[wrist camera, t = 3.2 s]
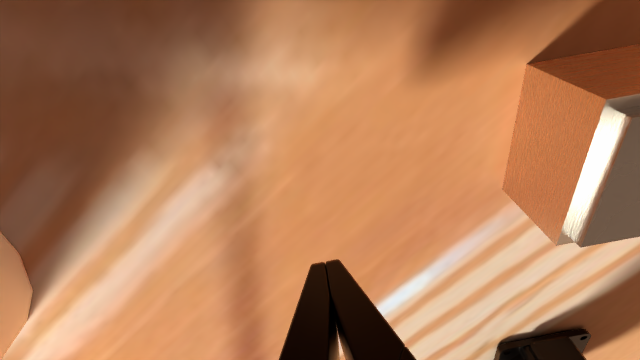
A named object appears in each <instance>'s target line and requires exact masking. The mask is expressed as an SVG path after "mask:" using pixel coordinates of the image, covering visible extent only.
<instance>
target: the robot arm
mask: <svg viewBox="0 0 640 360" xmlns="http://www.w3.org/2000/svg"><path fill="white" fill-rule="evenodd" d="M336 325H337V326H336ZM337 330H338V332H337ZM338 335H339V339H340V343H341V346H342V349H343V353H344V356H345V359H346V360H416V359H415V357H414V356H413V355H412V353H411V352H410V351H409V349H408V348H407V347H405V345H404V343H403V342H402V341H401V339H400V338H399V337H398V335H397V334H396V333H395V332H394V330H393V329H392V328H391V326H390V325H389V324H388V322H387V321H386V320H385V319H384V317H383V316H382V315H381V313H380V312H379V311H378V309H377V308H376V307H375V306H374V304H373V303H372V302H371V300H370V299H369V298H368V296H367V295H366V294H365V293H364V291H363V290H362V289H361V287H360V286H359V285H358V283H357V282H356V281H355V280H354V278H353V277H352V276H351V274H350V273H349V272H348V270H347V269H346V268H345V267H344V265H343V264H342V263H341V261H340V260H338V259H336V260H331V261H327V262H326V265H325V263H324V262H320V263H315V264H312V265H311V267H310V269H309V272H308V275H307V278H306V281H305V284H304V287H303V290H302V293H301V296H300V299H299V302H298V305H297V308H296V310H295V313H294V316H293V319H292V322H291V325H290V328H289V331H288V334H287V337H286V340H285V343H284V346H283V349H282V352H281V355H280V357H279V360H340V359H339V342H338ZM590 337H591V335H590V334H589V332H588V331H587V330H586V329H578V330H573V331H567V332H562V333H557V334H552V335H546V336H541V337H536V338H531V339H525V340H520V341H515V342H510V343H505V344H502V345H500V346H499V347H498V348H497V351H496V354H495V358H494V360H586V358H585V357H584V356H583V354H582V352H583V350H584V348H585V346H586V345H587V343H588V341H589V339H590Z"/></svg>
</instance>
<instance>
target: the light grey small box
mask: <svg viewBox="0 0 640 360" xmlns="http://www.w3.org/2000/svg"><path fill="white" fill-rule="evenodd" d="M502 190H503V191H504V192H505V193H506V194H507V195H508V196H509V197H510V198H511V199H512V200H513V201H514V202H515V203H516V204H517V205H518V206H519V207H520V208H521V209H522V210H523V211H524V212H525V214H526V215H527V216H528V217H529V218H530V219H531V220H532V221H533V222H534V223H535V224H536V225H537V226H538V227H539V228H540V229H541V230H542V231H543V232H544V233H545V234H546V235H547V236H548V237H549V238H550V240H551V241H552V242H553V243H554V244H555V245H556V246H557V245H562V244H567V243H573V242H575V243H577V244H578V245H579V246H580V247H585V246H591V245H596V244H601V243H607V242H612V241H618V240H623V239H628V238H634V237H639V236H640V44H636V45H631V46H625V47H620V48H614V49H608V50H603V51H597V52H592V53H586V54H580V55H575V56H569V57H564V58H558V59H552V60H547V61H541V62H536V63H530V64H526V69H525V75H524V80H523V85H522V90H521V95H520V100H519V106H518V111H517V116H516V121H515V126H514V131H513V137H512V142H511V147H510V152H509V157H508V162H507V168H506V173H505V178H504V183H503V188H502Z"/></svg>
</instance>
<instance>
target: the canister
mask: <svg viewBox="0 0 640 360" xmlns="http://www.w3.org/2000/svg"><path fill="white" fill-rule="evenodd" d="M32 294H33V289H32V286H31V284H30V281H29V278H28V275H27V273H26V270H25V267H24V264H23V262H22V259H21V256H20V254H19V253H18V251H17V250H16V249H15V248H14V247H13V246H12V244H11V243H10V242H9V241H8V240H7V239H6V238H5V236H4V235H3V234H2V233H1V232H0V360H1V359H2V358H3V356H4V355H5V353H6V352H7V350H8V349H9V347H10V346H11V344H12V343H13V341H14V340H15V338H16V337H17V335H18V334H19V332H20V331H21V329H22V328H23V326H24V325H25V323H26V322H27V319H28V314H29V309H30V304H31V299H32Z"/></svg>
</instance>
